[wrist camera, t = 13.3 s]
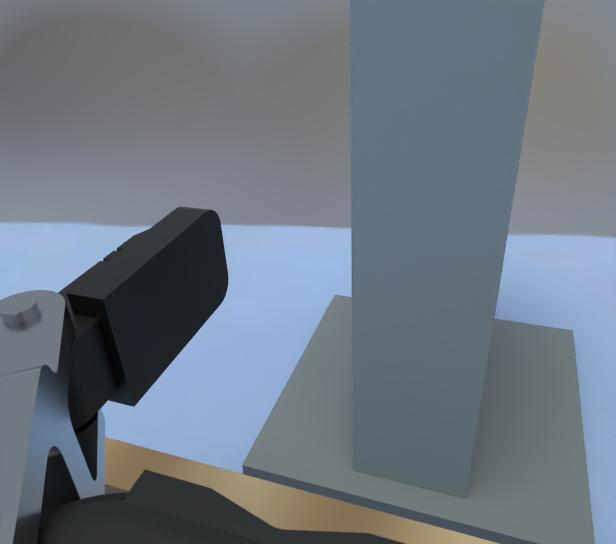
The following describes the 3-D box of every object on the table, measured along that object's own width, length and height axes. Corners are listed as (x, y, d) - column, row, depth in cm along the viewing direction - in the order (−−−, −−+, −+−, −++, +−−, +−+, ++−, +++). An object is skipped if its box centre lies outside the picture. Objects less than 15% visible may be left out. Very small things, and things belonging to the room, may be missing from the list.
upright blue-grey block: (486, 330, 27) (555, -120, 18) (465, 499, 19) (570, -165, 10) (405, 316, 28) (429, -110, 19) (352, 470, 20) (349, -142, 11)
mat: (570, 340, 27) (572, 330, 26) (592, 570, 17) (596, 558, 17) (335, 303, 30) (335, 294, 30) (244, 475, 21) (242, 465, 20)
